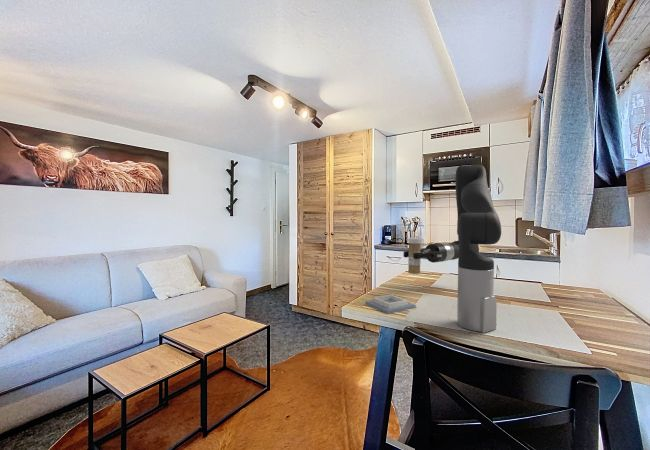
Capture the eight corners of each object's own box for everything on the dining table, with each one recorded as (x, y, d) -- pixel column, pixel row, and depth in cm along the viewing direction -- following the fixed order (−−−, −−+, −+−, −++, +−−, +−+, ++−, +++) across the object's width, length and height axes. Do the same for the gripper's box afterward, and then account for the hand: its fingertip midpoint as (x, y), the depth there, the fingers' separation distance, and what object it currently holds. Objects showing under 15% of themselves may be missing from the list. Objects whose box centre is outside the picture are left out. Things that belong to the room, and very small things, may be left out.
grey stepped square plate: (415, 307, 97) (415, 300, 97) (387, 313, 91) (387, 306, 91) (391, 298, 108) (392, 292, 108) (365, 303, 102) (365, 297, 101)
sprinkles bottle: (405, 272, 107) (406, 237, 106) (416, 271, 108) (417, 237, 107) (411, 274, 102) (411, 238, 102) (423, 274, 103) (423, 238, 103)
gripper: (425, 241, 118) (395, 243, 110) (455, 244, 105) (424, 247, 97) (425, 259, 118) (395, 262, 110) (455, 264, 106) (424, 268, 97)
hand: (409, 255), depth 103 cm, fingers closed on sprinkles bottle, 4 cm apart
